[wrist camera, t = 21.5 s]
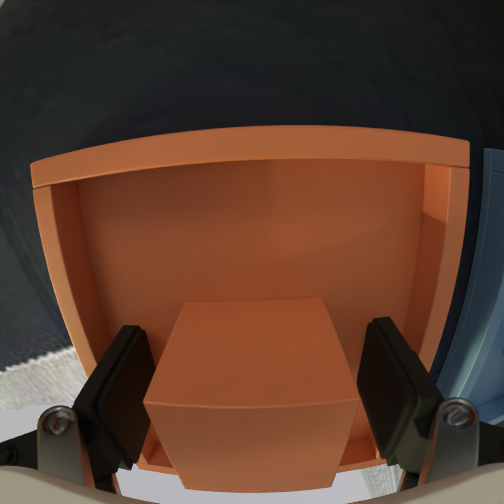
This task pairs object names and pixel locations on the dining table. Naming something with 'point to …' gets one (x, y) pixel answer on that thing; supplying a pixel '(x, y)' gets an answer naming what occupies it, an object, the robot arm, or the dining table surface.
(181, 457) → the terracotta block
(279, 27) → the dining table surface
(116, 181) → the terracotta tray
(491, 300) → the blue tray
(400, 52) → the dining table surface
